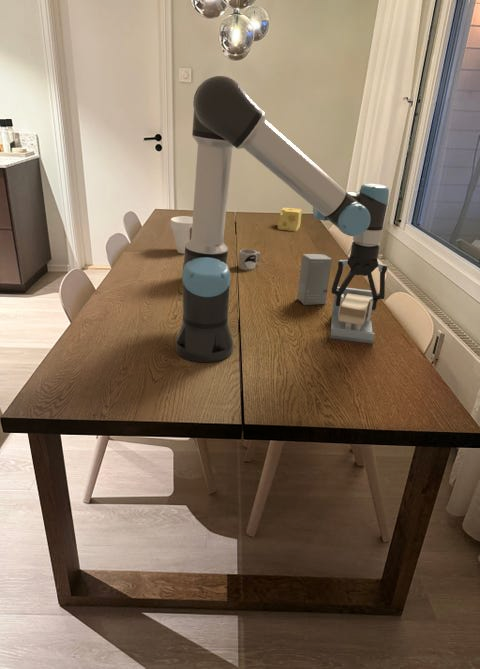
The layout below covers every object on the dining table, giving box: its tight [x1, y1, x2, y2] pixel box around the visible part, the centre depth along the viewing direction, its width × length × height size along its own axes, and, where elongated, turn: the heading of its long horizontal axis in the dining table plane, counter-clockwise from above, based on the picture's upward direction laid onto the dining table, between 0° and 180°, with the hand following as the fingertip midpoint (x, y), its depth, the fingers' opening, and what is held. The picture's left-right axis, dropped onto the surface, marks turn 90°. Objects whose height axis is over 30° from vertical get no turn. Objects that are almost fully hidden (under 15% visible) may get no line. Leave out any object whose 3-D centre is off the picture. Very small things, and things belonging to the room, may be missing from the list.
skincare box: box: [296, 253, 333, 306], centre depth 162 cm, size 8×7×16 cm
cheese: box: [277, 207, 303, 233], centre depth 254 cm, size 10×11×10 cm
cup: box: [170, 215, 193, 255], centre depth 206 cm, size 12×12×14 cm
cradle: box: [330, 286, 376, 345], centre depth 144 cm, size 16×12×10 cm
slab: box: [338, 293, 370, 325], centre depth 144 cm, size 12×7×4 cm, turn 159°
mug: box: [238, 248, 261, 271], centre depth 193 cm, size 10×7×7 cm
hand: (353, 317), depth 145 cm, fingers closed on slab, 8 cm apart
